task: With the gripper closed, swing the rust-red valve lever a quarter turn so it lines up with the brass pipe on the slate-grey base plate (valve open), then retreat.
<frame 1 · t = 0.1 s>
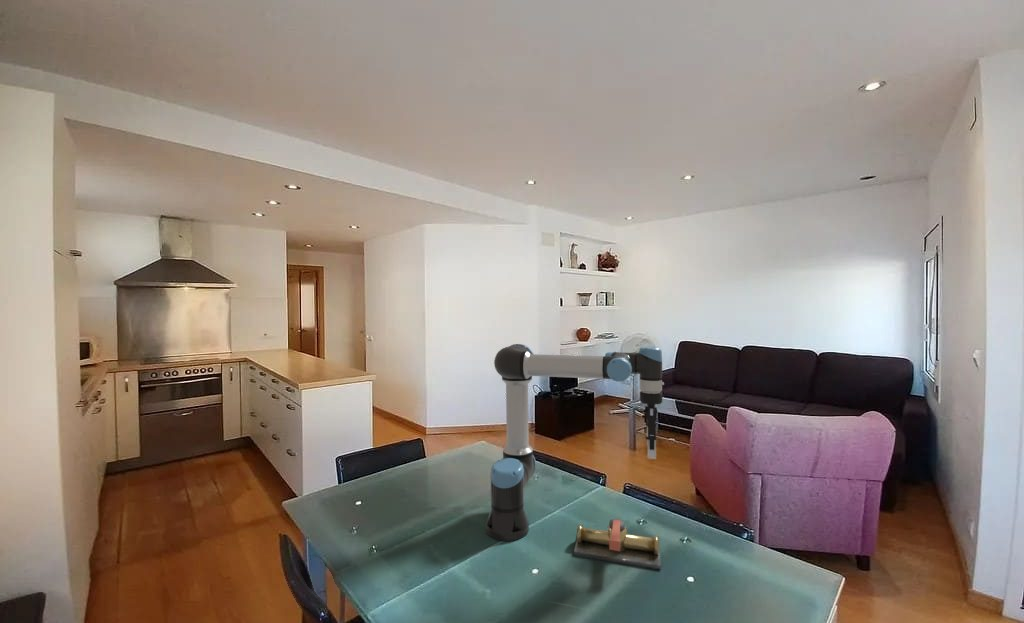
hand: (651, 451, 144), 28 cm above the table, fingers open, 13 cm apart
lever: (616, 531, 128), point 9 cm above the table, hinge at 0.0°
valve base: (617, 549, 133), on the table
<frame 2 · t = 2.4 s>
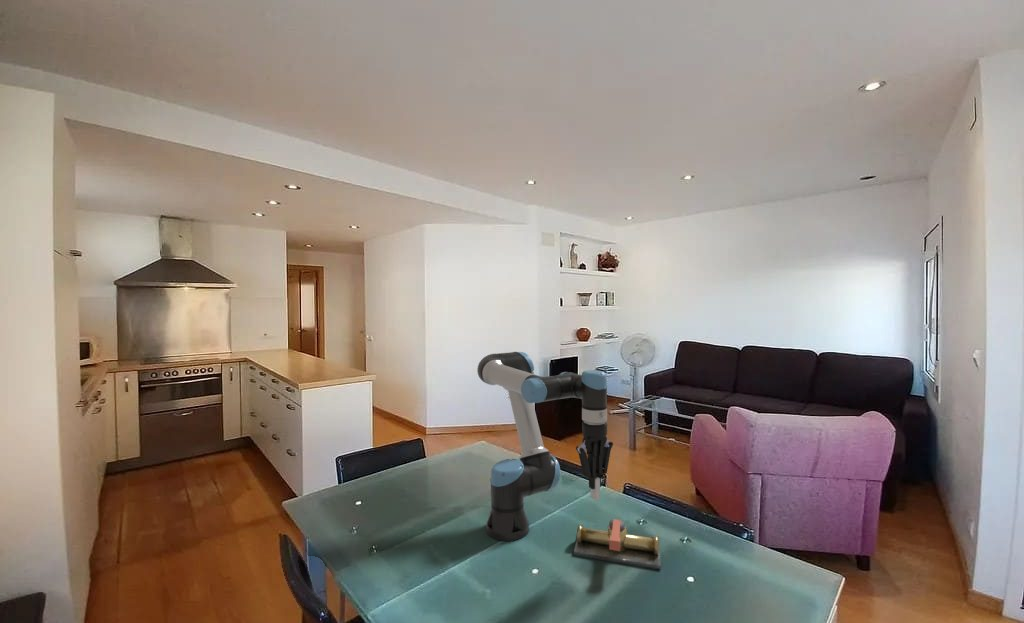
hand: (595, 498, 126), 20 cm above the table, fingers closed
nothing on the table moved.
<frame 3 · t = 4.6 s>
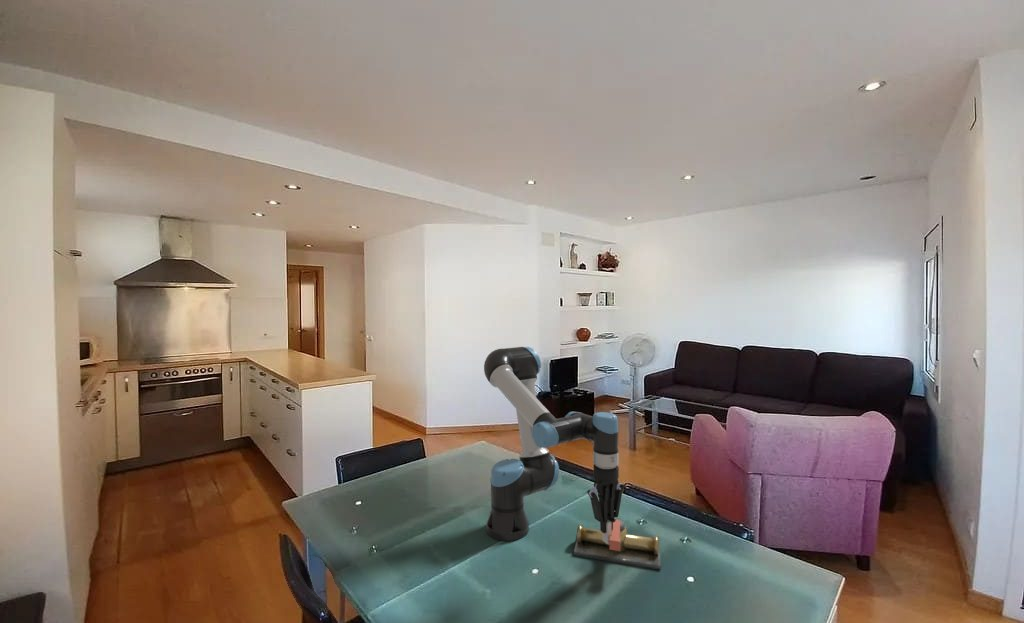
hand: (606, 541, 125), 7 cm above the table, fingers closed
lever: (616, 531, 128), point 9 cm above the table, hinge at 0.1°, touching gripper
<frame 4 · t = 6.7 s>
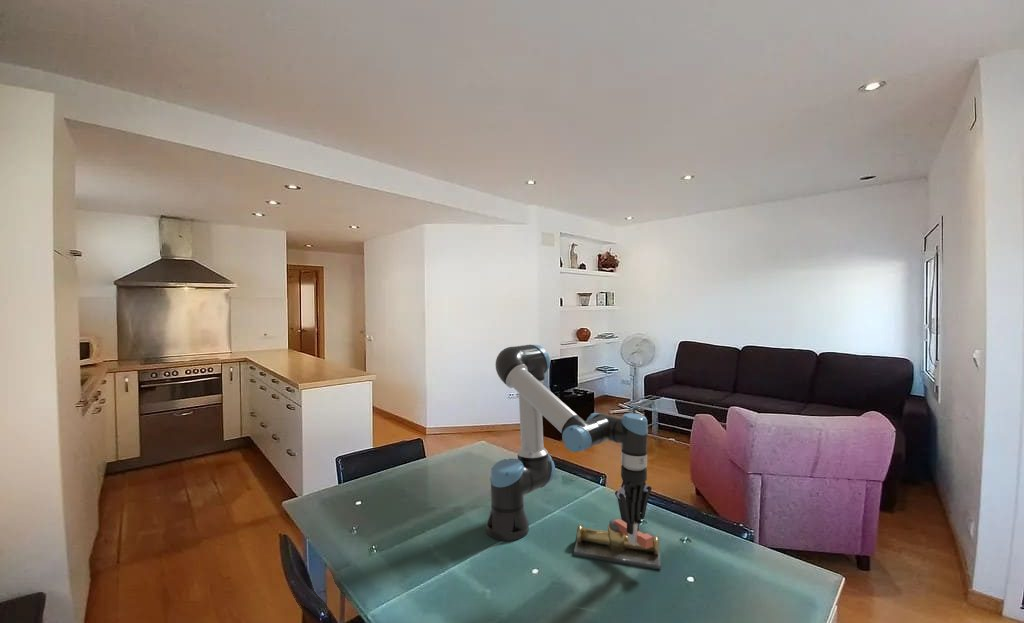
hand: (632, 543, 125), 7 cm above the table, fingers closed
lever: (629, 530, 128), point 9 cm above the table, hinge at 47.0°, touching gripper
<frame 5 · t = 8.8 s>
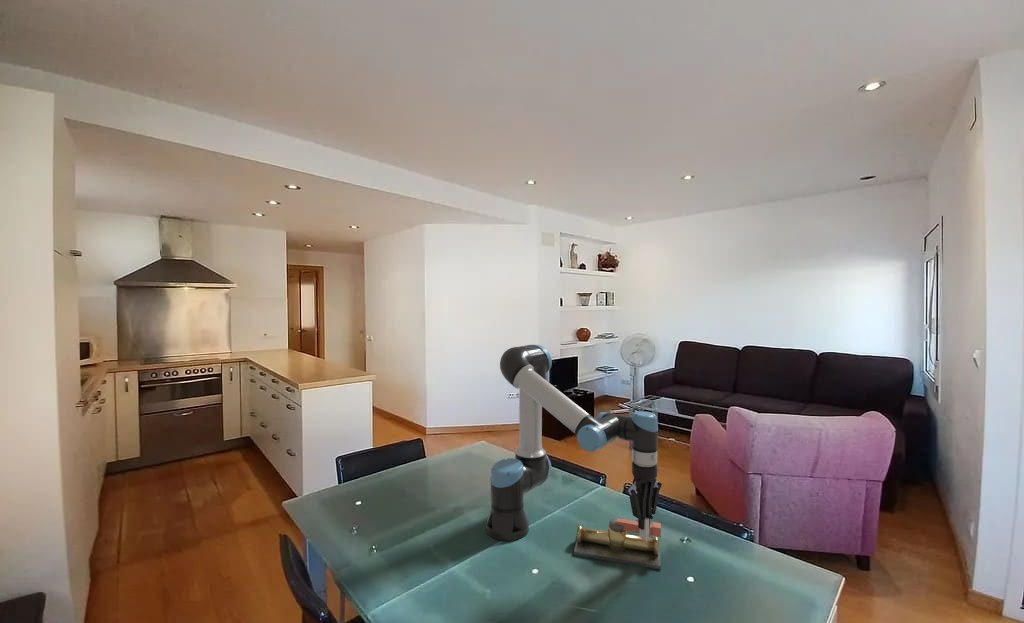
hand: (644, 538, 128), 7 cm above the table, fingers closed
lever: (634, 525, 131), point 9 cm above the table, hinge at 85.9°, touching gripper
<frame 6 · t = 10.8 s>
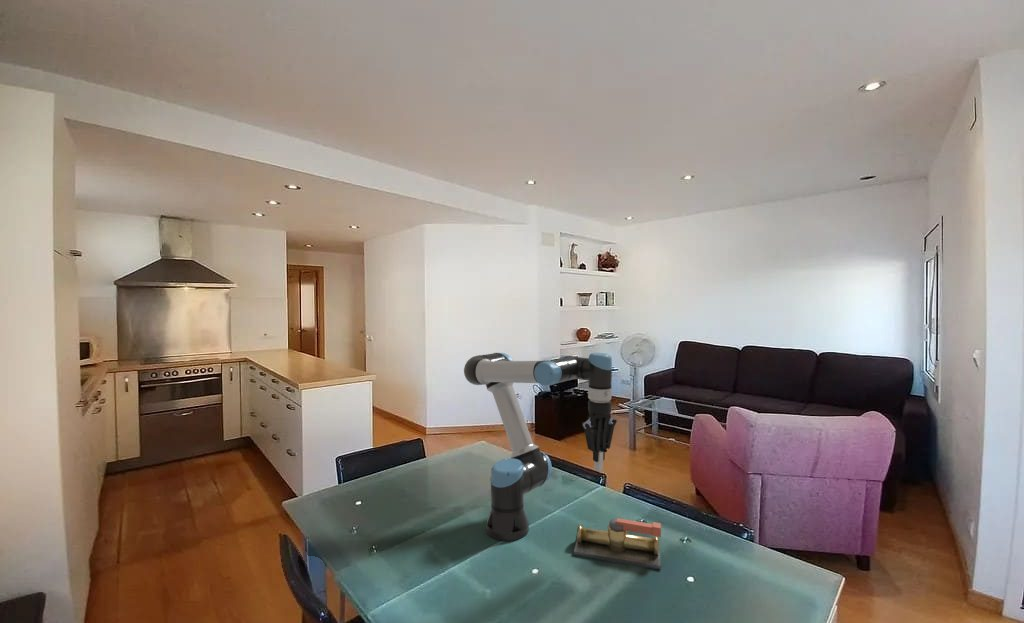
hand: (598, 470, 137), 24 cm above the table, fingers closed
lever: (634, 525, 131), point 9 cm above the table, hinge at 85.9°
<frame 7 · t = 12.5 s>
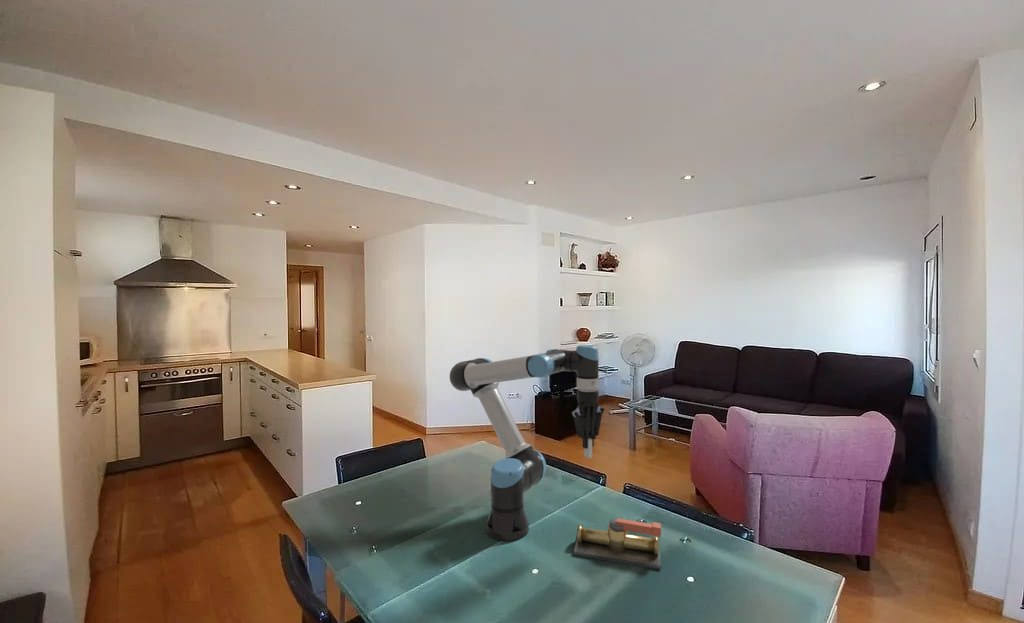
hand: (588, 456, 144), 26 cm above the table, fingers closed
nothing on the table moved.
at the end: lever at +86° (first picture: +0°) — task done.
